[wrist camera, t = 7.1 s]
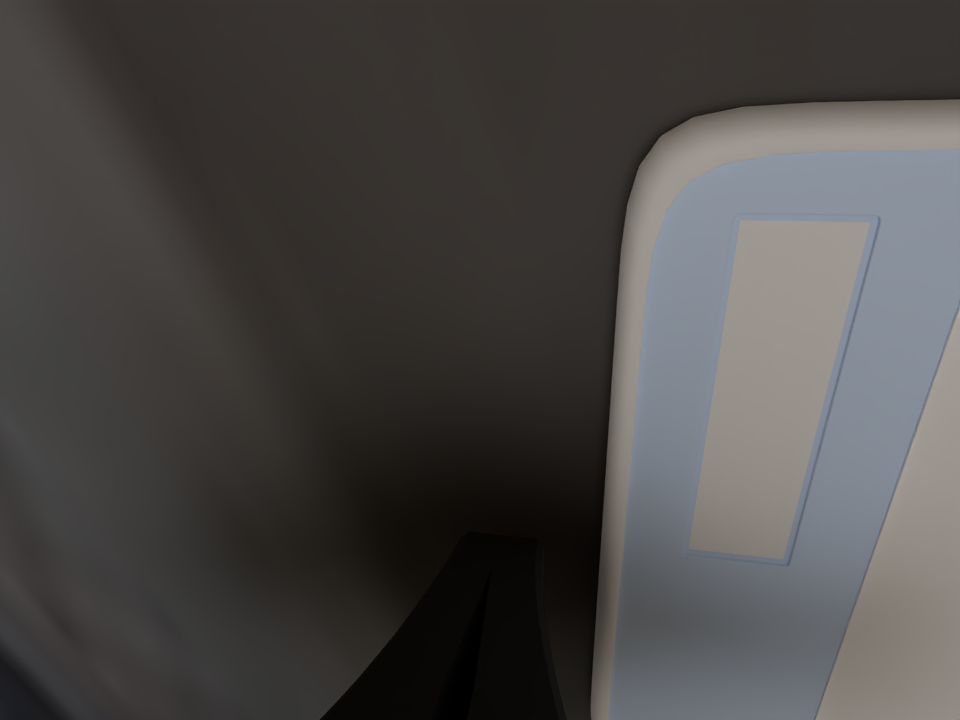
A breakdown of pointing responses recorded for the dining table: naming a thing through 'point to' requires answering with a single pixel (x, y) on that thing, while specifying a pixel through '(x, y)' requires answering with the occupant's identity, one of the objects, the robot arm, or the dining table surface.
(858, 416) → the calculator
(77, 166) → the dining table surface
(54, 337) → the dining table surface
